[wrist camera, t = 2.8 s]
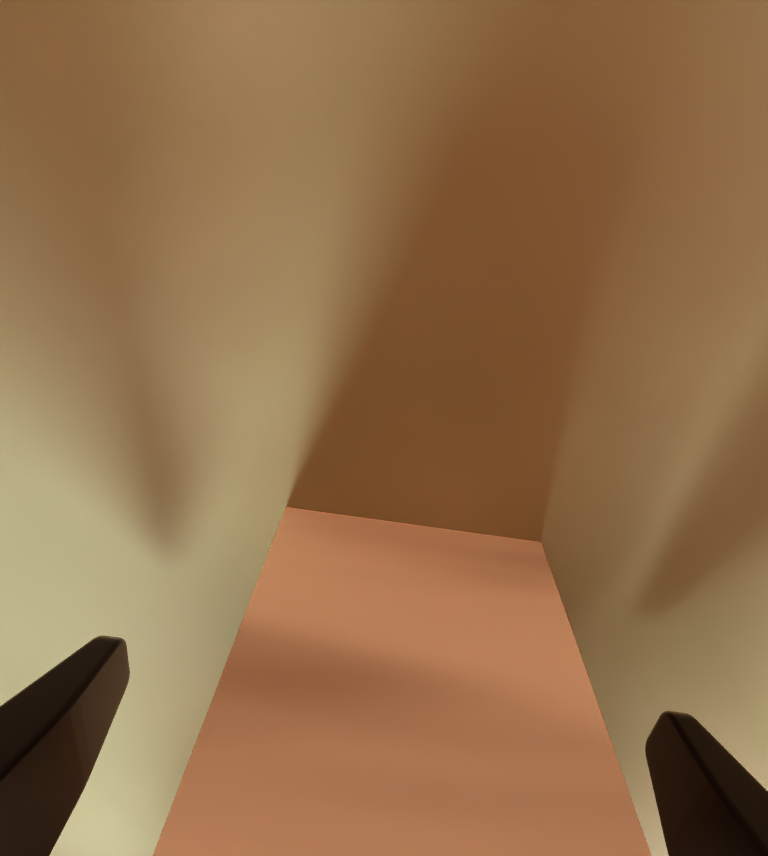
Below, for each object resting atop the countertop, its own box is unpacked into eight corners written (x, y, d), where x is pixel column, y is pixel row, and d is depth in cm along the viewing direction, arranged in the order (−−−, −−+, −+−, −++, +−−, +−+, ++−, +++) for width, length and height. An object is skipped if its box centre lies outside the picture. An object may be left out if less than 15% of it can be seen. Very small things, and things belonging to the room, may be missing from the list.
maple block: (485, 707, 11) (555, 1211, 6) (276, 679, 11) (147, 1162, 6) (540, 540, 9) (726, 1069, 4) (286, 505, 9) (100, 993, 4)
